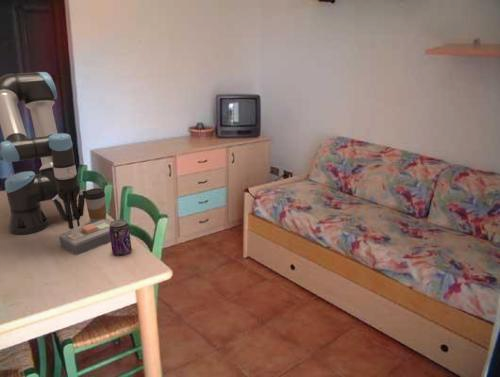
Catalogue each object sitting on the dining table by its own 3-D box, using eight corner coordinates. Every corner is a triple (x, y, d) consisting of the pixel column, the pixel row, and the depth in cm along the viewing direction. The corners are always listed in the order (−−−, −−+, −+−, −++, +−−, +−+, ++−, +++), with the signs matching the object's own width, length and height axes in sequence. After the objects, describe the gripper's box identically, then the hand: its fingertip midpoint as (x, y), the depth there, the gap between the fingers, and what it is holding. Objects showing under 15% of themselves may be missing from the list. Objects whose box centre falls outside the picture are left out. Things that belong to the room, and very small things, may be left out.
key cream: (68, 242, 170) (67, 235, 169) (79, 239, 173) (78, 232, 172) (74, 246, 167) (73, 239, 166) (85, 242, 171) (84, 235, 170)
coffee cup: (102, 228, 186) (98, 195, 181) (84, 227, 188) (79, 194, 183) (112, 220, 194) (108, 188, 189) (95, 219, 196) (90, 187, 190)
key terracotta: (82, 234, 174) (81, 227, 173) (92, 230, 177) (91, 223, 176) (87, 237, 171) (86, 230, 170) (98, 233, 174) (97, 226, 173)
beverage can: (121, 258, 162) (117, 228, 158) (108, 253, 165) (104, 224, 161) (135, 250, 167) (132, 221, 163) (122, 245, 171) (119, 217, 167)
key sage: (96, 232, 178) (95, 226, 177) (105, 229, 181) (104, 222, 180) (101, 236, 176) (100, 229, 175) (111, 232, 179) (110, 225, 178)
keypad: (60, 245, 172) (59, 234, 171) (104, 229, 185) (103, 219, 184) (76, 255, 165) (74, 243, 163) (120, 237, 178) (119, 227, 176)
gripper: (53, 183, 154) (64, 244, 162) (87, 174, 163) (96, 232, 171) (43, 178, 159) (54, 238, 167) (77, 170, 168) (86, 227, 176)
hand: (75, 235), depth 169 cm, fingers closed
